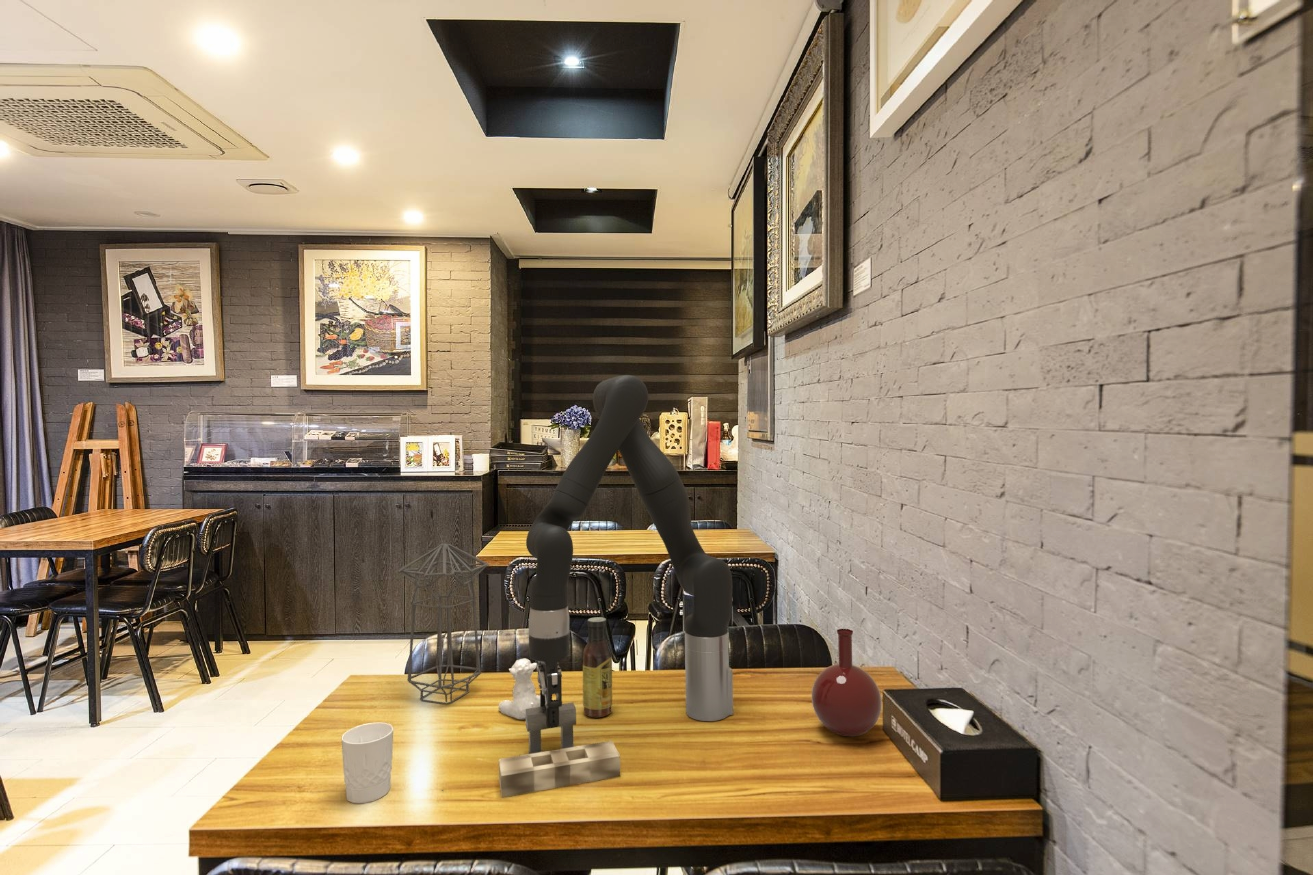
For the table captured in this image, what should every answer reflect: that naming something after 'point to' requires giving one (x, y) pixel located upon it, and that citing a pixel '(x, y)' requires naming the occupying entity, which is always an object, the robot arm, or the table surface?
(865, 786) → the table surface
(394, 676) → the table surface
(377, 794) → the white cup
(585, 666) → the sauce bottle
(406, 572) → the geometric lantern
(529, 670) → the seated beast figurine
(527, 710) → the grey notched block
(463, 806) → the table surface
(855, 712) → the round-bottom flask
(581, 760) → the rail
